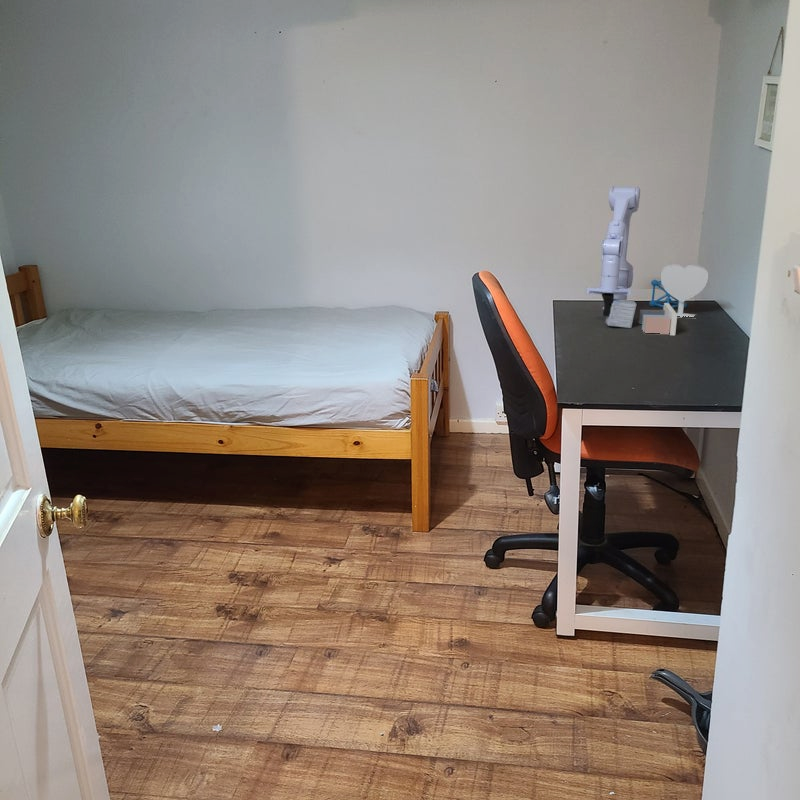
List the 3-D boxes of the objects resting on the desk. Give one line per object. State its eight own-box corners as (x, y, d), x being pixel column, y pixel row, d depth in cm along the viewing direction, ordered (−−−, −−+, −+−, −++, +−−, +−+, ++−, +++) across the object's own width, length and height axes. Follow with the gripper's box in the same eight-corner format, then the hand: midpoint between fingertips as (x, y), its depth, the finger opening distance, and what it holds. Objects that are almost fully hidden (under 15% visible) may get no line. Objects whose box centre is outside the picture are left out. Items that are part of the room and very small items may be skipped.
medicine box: (627, 325, 274) (633, 300, 272) (631, 328, 270) (637, 303, 267) (604, 322, 274) (610, 297, 271) (608, 325, 270) (613, 300, 267)
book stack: (637, 321, 278) (639, 301, 276) (665, 322, 277) (667, 302, 275) (644, 334, 263) (646, 313, 260) (675, 335, 261) (677, 314, 259)
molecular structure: (668, 303, 304) (670, 276, 301) (687, 308, 296) (690, 281, 292) (647, 306, 300) (650, 279, 297) (667, 311, 292) (669, 284, 288)
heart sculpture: (702, 315, 286) (708, 264, 280) (703, 318, 281) (709, 267, 275) (657, 312, 290) (661, 262, 284) (657, 316, 286) (661, 265, 279)
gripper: (588, 276, 264) (585, 317, 268) (634, 278, 262) (630, 319, 266) (587, 273, 271) (583, 313, 275) (631, 274, 269) (627, 314, 273)
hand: (606, 315), depth 271 cm, fingers closed, pressing on medicine box
